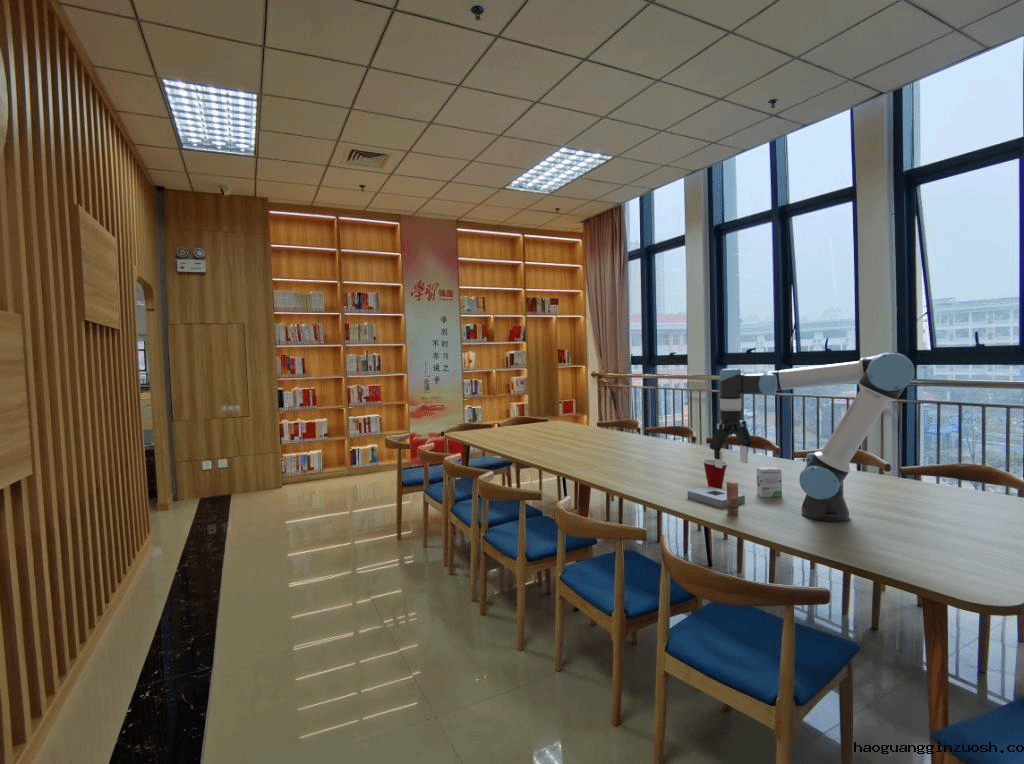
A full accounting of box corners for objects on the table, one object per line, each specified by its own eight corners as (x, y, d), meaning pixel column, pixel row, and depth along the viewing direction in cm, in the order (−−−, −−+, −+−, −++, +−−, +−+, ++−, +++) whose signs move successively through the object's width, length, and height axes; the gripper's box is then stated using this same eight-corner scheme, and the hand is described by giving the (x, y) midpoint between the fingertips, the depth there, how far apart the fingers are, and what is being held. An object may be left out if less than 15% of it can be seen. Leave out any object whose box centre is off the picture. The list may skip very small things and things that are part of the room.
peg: (741, 514, 198) (740, 482, 197) (733, 516, 196) (733, 484, 195) (732, 511, 202) (731, 480, 201) (724, 513, 200) (724, 482, 199)
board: (744, 502, 212) (744, 495, 212) (722, 508, 206) (722, 500, 206) (709, 492, 228) (709, 486, 228) (687, 497, 222) (687, 490, 222)
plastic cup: (732, 490, 231) (731, 463, 230) (707, 490, 232) (706, 463, 231) (724, 483, 242) (723, 458, 241) (700, 484, 243) (699, 458, 242)
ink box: (777, 494, 222) (777, 466, 222) (782, 497, 218) (782, 469, 217) (756, 494, 224) (756, 466, 223) (760, 497, 219) (760, 469, 218)
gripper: (744, 406, 206) (745, 459, 207) (698, 411, 195) (700, 467, 196) (761, 407, 199) (762, 462, 200) (715, 413, 188) (716, 471, 189)
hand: (731, 465), depth 198 cm, fingers open, 13 cm apart
